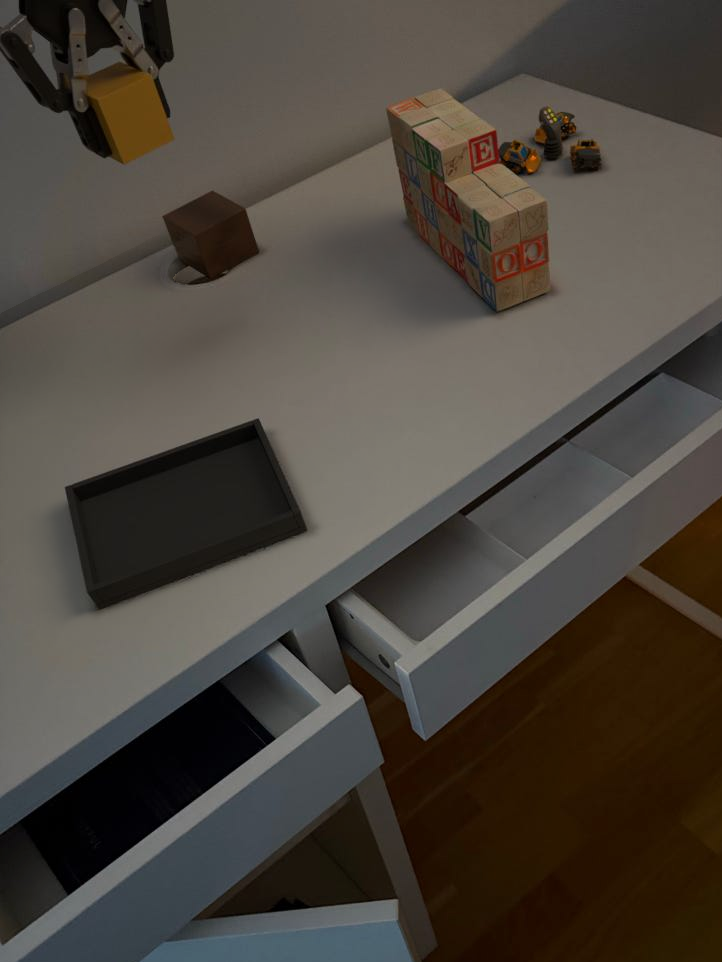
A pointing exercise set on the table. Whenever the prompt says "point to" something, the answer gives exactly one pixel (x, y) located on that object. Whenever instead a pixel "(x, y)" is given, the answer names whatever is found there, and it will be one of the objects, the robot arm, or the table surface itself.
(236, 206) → the base block
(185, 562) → the tray
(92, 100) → the top cube
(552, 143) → the toy set
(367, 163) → the table surface
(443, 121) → the stack of blocks
